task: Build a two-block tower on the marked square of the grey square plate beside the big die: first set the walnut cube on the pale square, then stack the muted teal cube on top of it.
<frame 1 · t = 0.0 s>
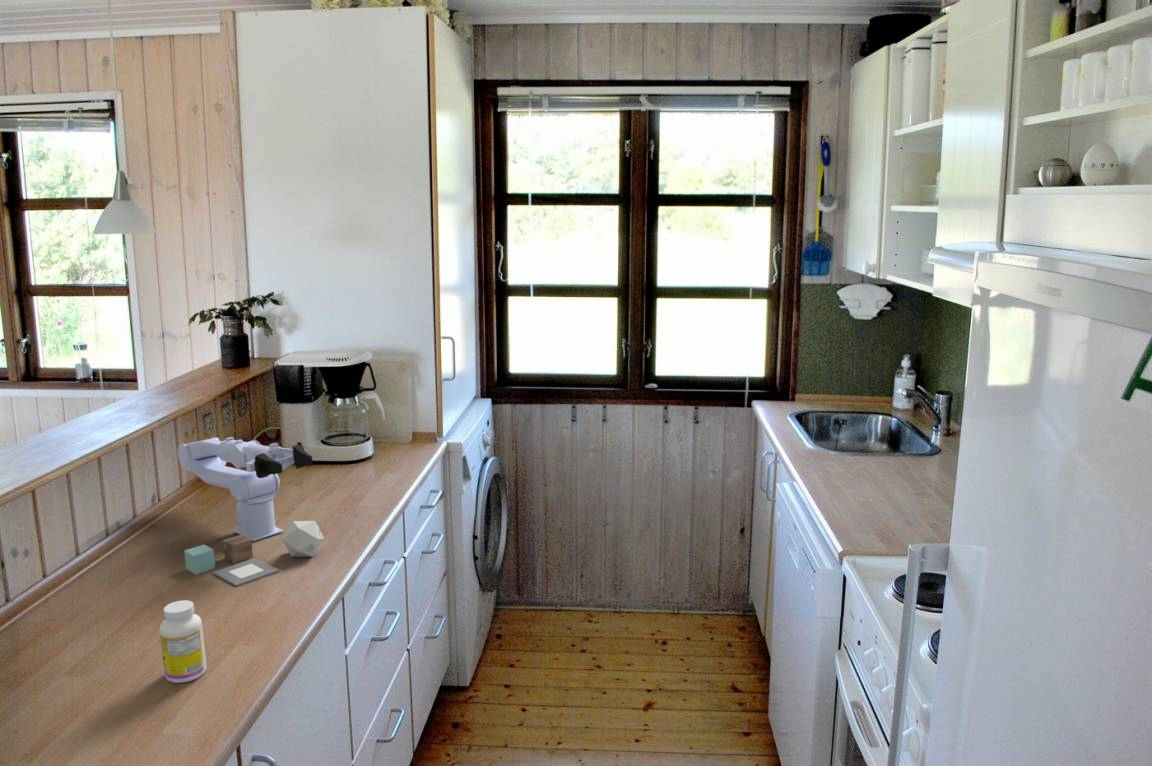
hand: (296, 464, 195), 22 cm above the worktop, tool horizontal, fingers open, 7 cm apart
walnut block: (238, 558, 197), on the worktop
die: (304, 555, 199), on the worktop
supplement bottle: (186, 675, 148), on the worktop
teal block: (200, 568, 191), on the worktop
grey square plate: (246, 572, 189), on the worktop
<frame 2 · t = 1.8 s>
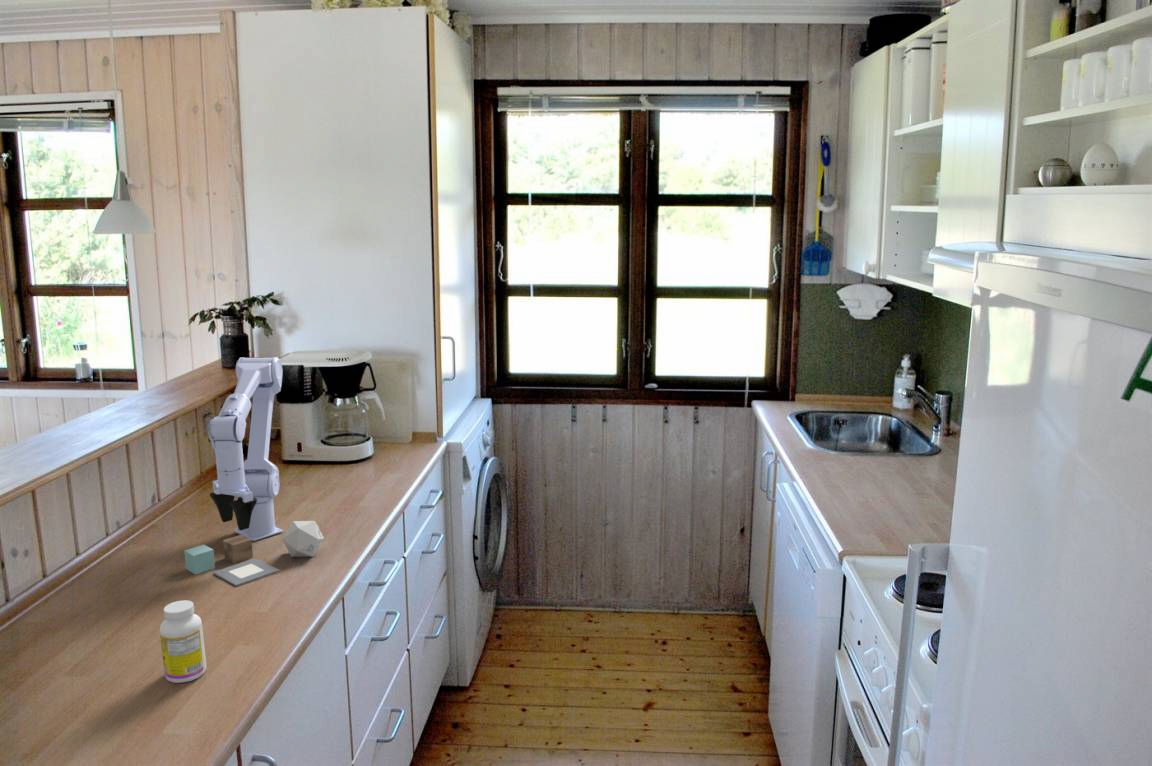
hand: (235, 524, 195), 8 cm above the worktop, tool pointing down, fingers open, 7 cm apart
nothing on the worktop moved.
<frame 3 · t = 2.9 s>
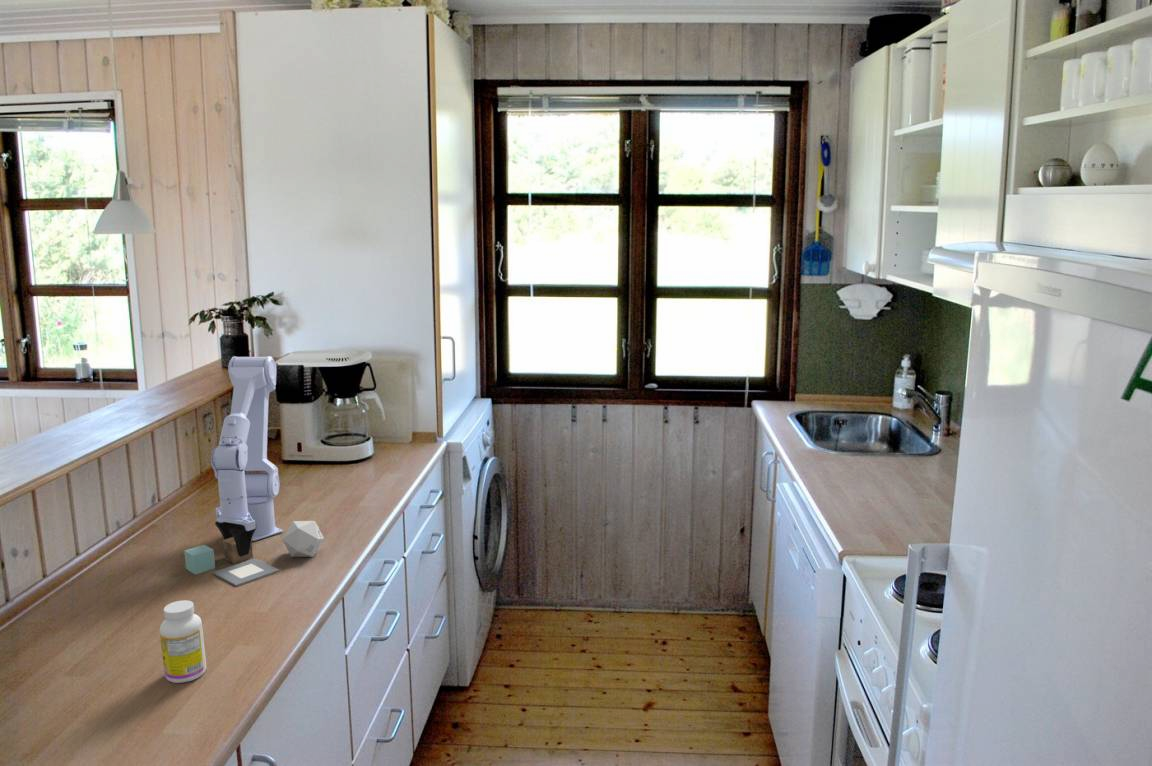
hand: (238, 552, 197), 1 cm above the worktop, tool pointing down, fingers closed on walnut block, 4 cm apart
walnut block: (238, 557, 197), on the worktop, touching gripper
everything else where it was.
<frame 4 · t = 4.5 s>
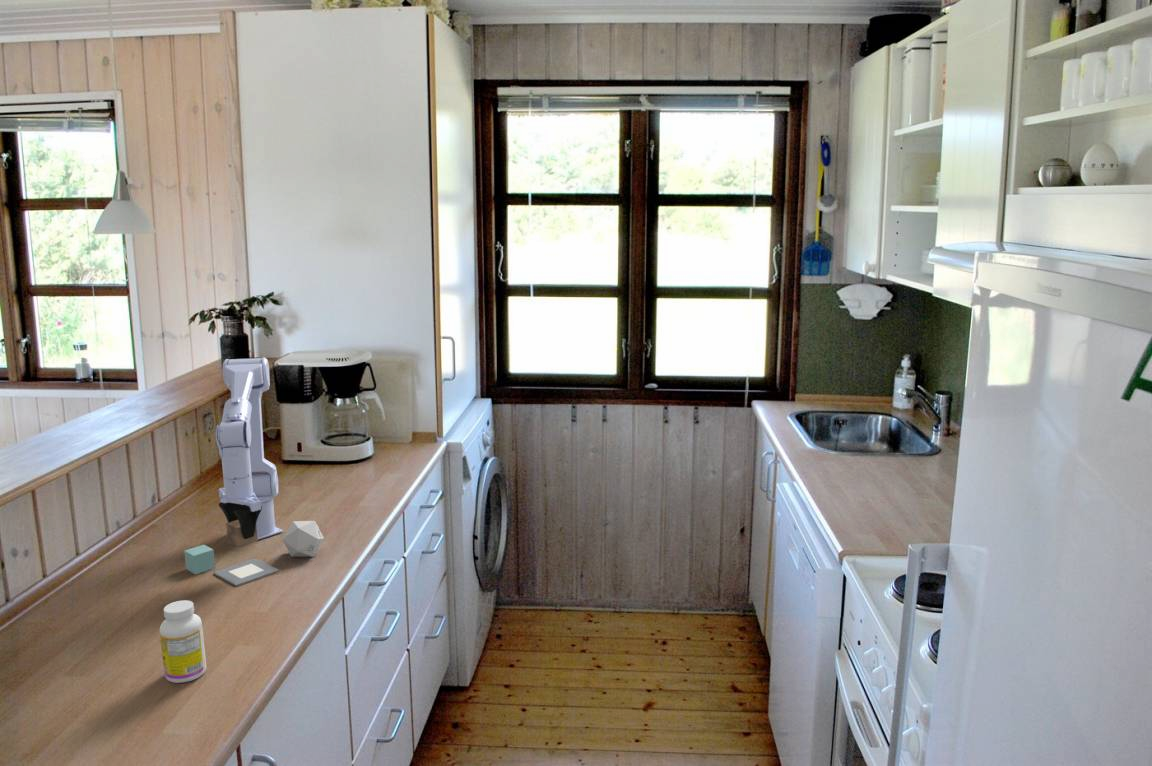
hand: (242, 534, 187), 9 cm above the worktop, tool pointing down, fingers closed on walnut block, 4 cm apart
walnut block: (242, 541, 187), point 7 cm above the worktop, touching gripper
everything else where it was.
when the fingers open (3 cm above the worktop, at t = 6.1 s): walnut block stays where it is, resting on grey square plate.
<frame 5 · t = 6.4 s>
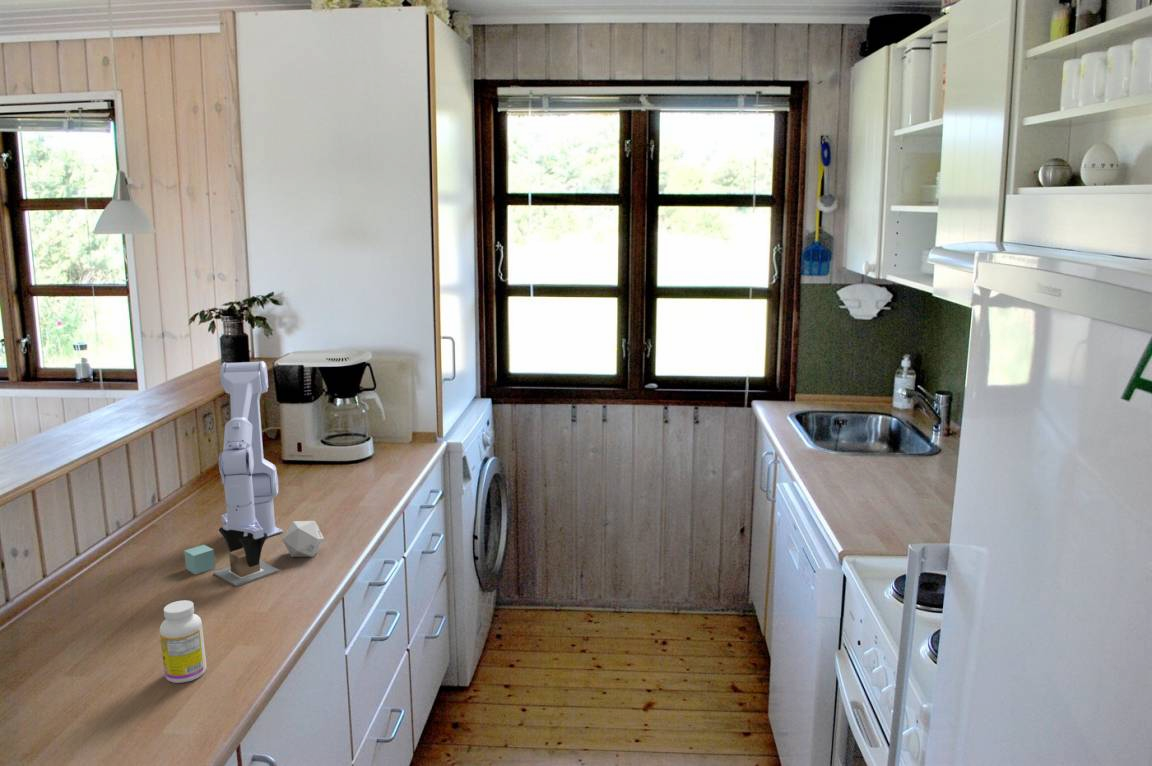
hand: (245, 560, 188), 3 cm above the worktop, tool pointing down, fingers open, 7 cm apart
walnut block: (245, 571, 189), resting on grey square plate
everything else where it was.
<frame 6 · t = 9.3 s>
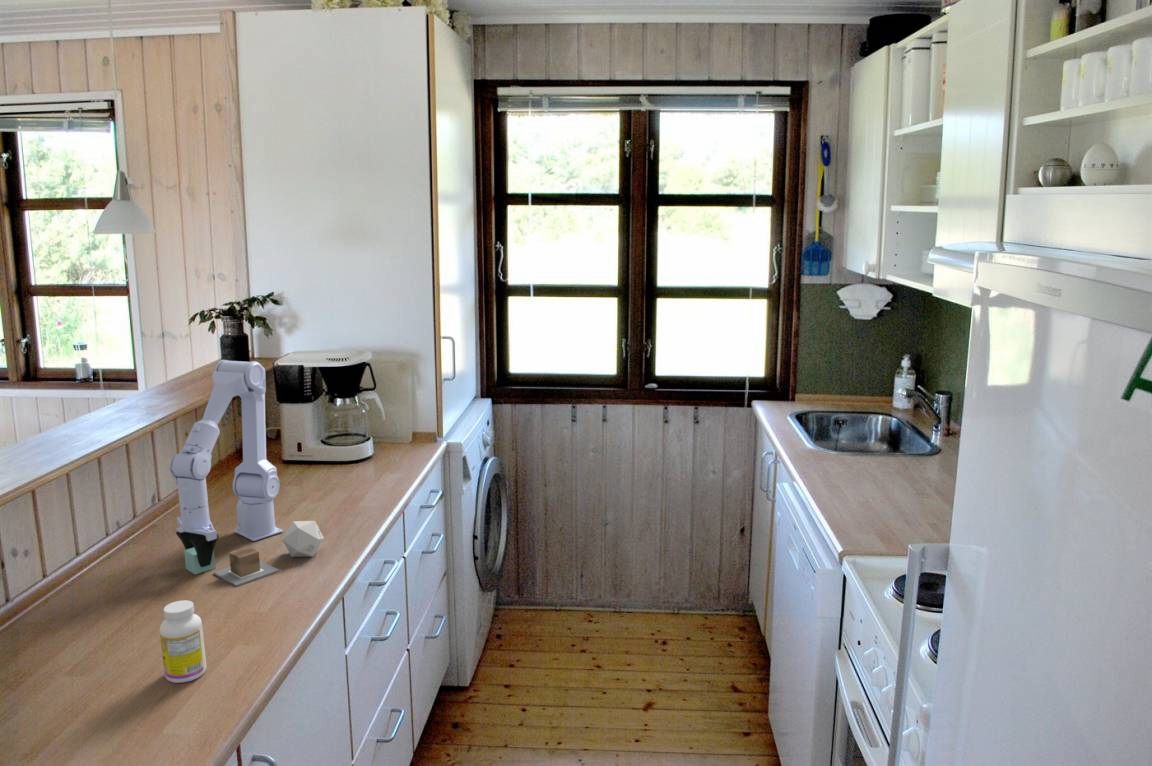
hand: (200, 562, 191), 1 cm above the worktop, tool pointing down, fingers closed on teal block, 4 cm apart
teal block: (200, 568, 191), on the worktop, touching gripper
everything else where it was.
when the fingers open (7 cm above the worktop, at t = 12.2 s): teal block stays where it is, resting on walnut block.
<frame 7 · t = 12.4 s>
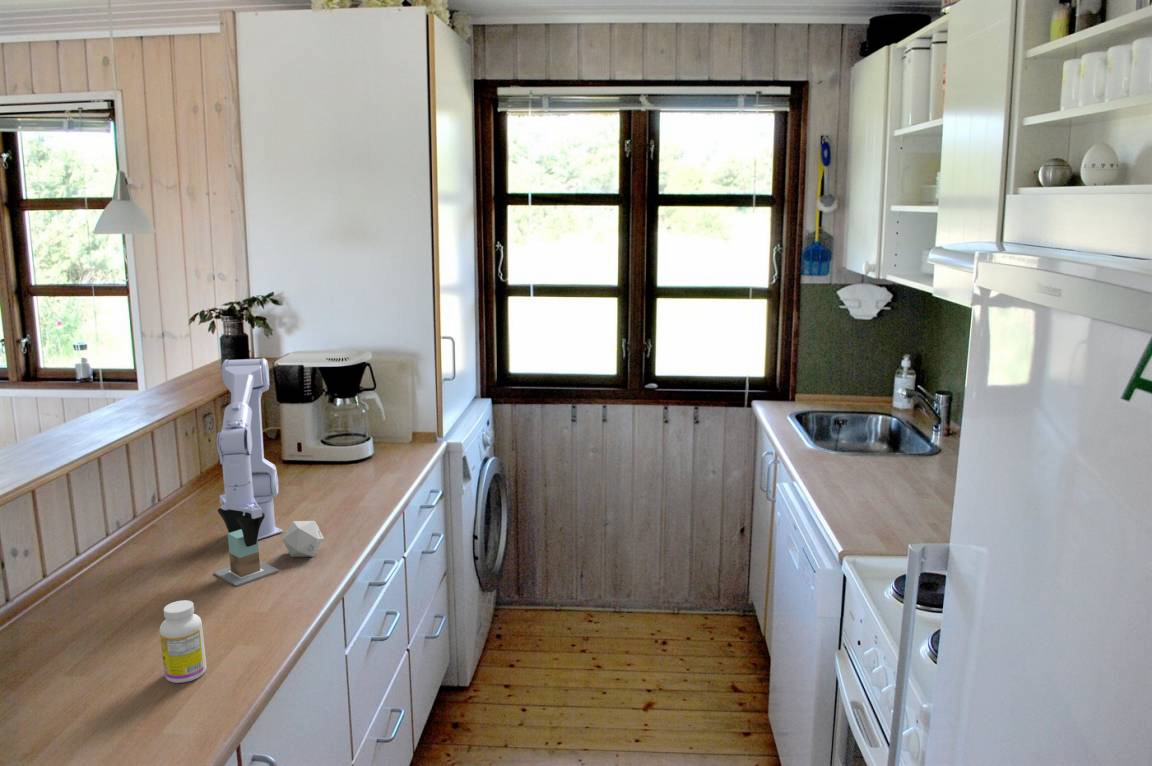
hand: (243, 541, 187), 7 cm above the worktop, tool pointing down, fingers open, 6 cm apart
walnut block: (245, 571, 189), resting on grey square plate, touching teal block
teal block: (244, 552, 188), point 5 cm above the worktop, touching walnut block
everything else where it was.
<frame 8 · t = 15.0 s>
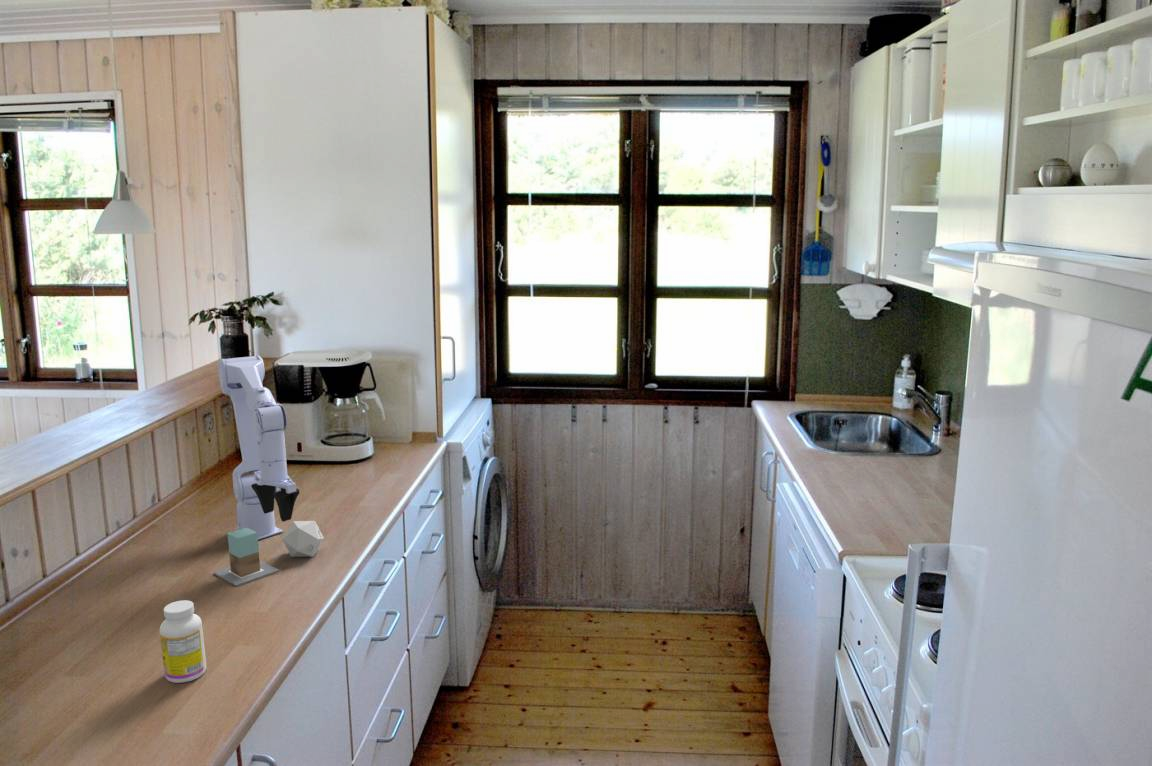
hand: (277, 516, 194), 10 cm above the worktop, tool pointing down, fingers open, 7 cm apart
nothing on the worktop moved.
at the end: walnut block 0.1 cm from the target spot, resting on grey square plate; teal block 0.1 cm off-centre on the walnut block, point 4.5 cm above the walnut block's base; teal block tilted 0° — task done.
